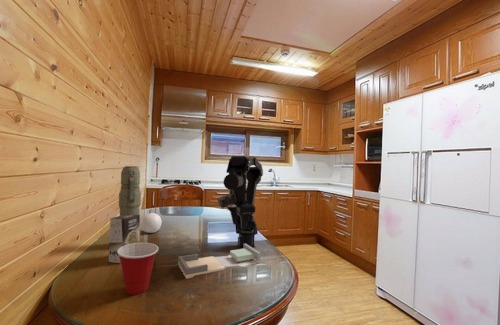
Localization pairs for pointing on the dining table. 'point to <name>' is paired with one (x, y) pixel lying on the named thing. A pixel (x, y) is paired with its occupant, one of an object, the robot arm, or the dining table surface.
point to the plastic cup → (137, 266)
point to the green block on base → (245, 254)
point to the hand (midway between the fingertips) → (238, 227)
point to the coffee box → (122, 234)
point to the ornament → (151, 222)
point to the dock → (207, 264)
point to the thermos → (130, 191)
